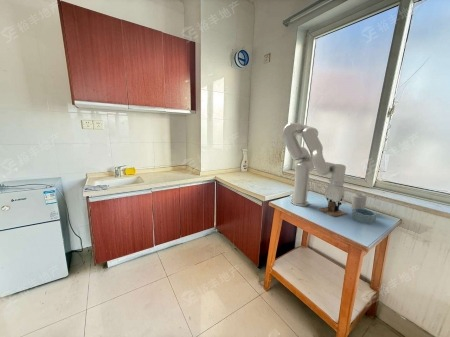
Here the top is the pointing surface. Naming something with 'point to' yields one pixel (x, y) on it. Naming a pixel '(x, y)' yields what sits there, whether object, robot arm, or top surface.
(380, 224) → the top surface
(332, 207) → the lid
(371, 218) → the bowl
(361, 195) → the can
